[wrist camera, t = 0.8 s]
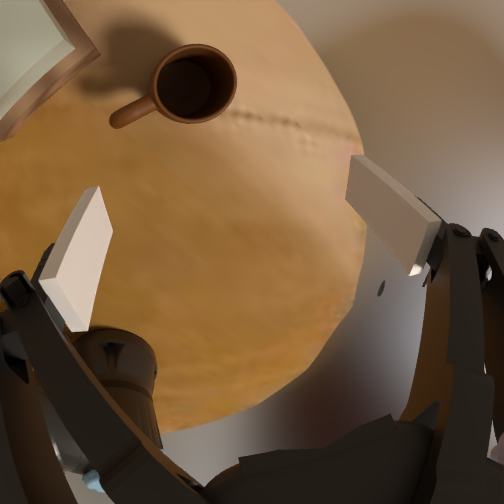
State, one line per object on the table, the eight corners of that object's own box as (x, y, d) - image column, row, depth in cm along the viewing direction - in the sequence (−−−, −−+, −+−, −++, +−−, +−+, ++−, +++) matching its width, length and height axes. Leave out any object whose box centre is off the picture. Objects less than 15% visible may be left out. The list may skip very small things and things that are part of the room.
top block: (-3, 122, 19) (-24, 128, 15) (-39, 59, 12) (-62, 57, 8) (75, 48, 19) (63, 39, 15) (35, -13, 12) (20, -28, 8)
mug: (129, 148, 30) (125, 164, 23) (103, 92, 26) (89, 88, 18) (223, 103, 31) (250, 105, 24) (200, 48, 27) (221, 31, 19)
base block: (14, 136, 24) (-3, 142, 20) (-32, 65, 15) (-51, 63, 11) (101, 55, 24) (95, 48, 20) (51, -15, 16) (41, -29, 12)
